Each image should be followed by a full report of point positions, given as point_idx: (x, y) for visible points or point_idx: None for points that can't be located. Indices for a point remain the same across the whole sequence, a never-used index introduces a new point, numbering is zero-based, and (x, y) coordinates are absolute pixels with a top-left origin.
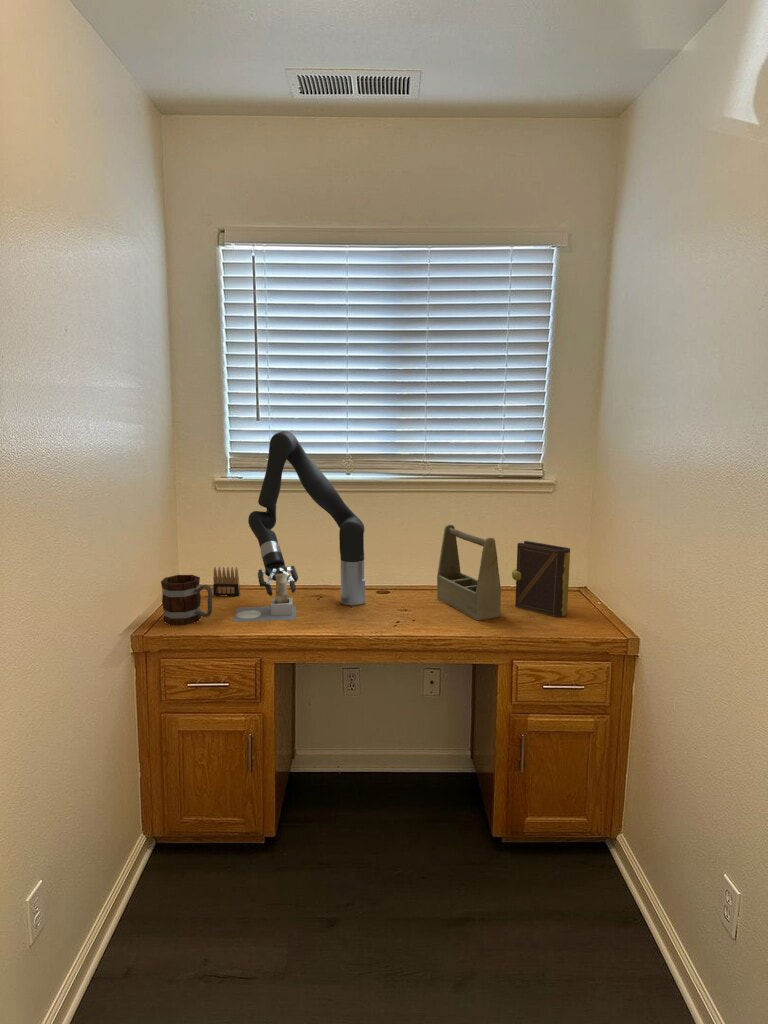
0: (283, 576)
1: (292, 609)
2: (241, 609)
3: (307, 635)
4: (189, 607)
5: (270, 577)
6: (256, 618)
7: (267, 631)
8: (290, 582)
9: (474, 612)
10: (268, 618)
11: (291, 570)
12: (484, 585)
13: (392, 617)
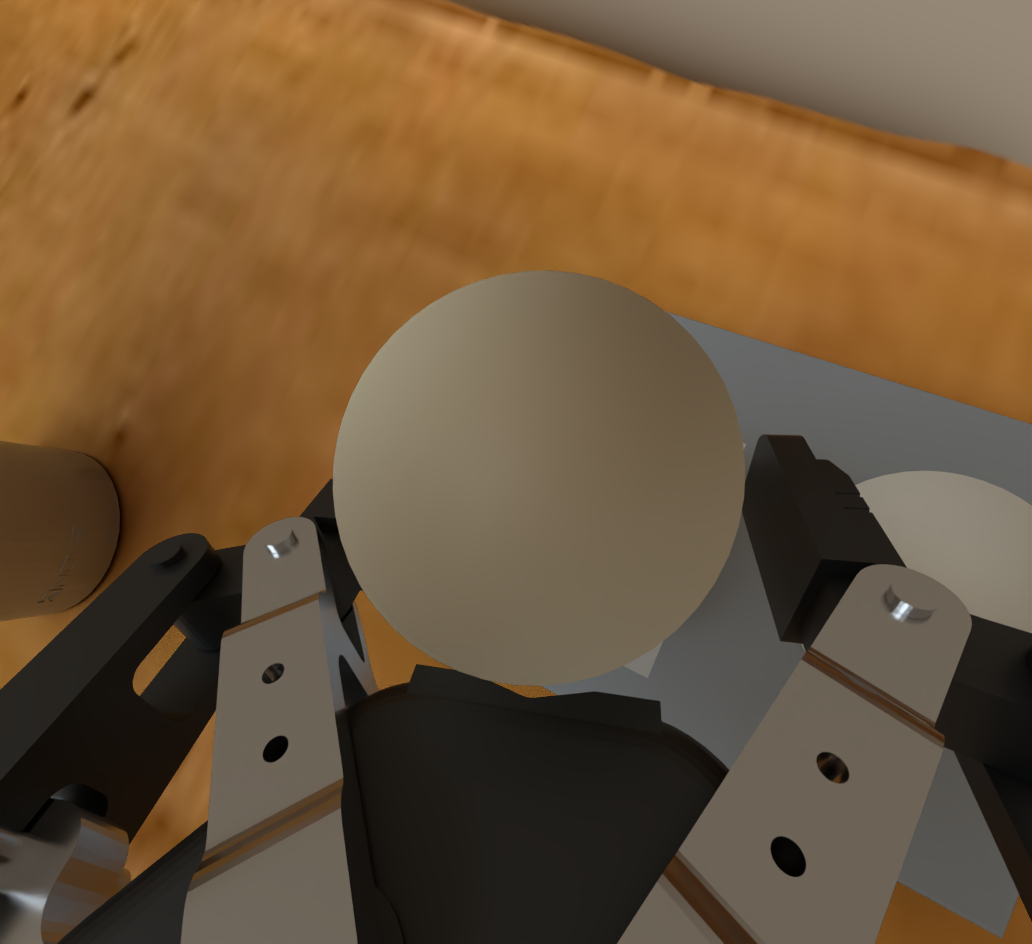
0: (516, 275)
1: None
2: (962, 830)
3: (589, 50)
4: None
5: (866, 702)
6: (880, 452)
7: (833, 216)
8: (347, 572)
9: None
10: (766, 398)
11: (14, 827)
12: None
13: (62, 171)
